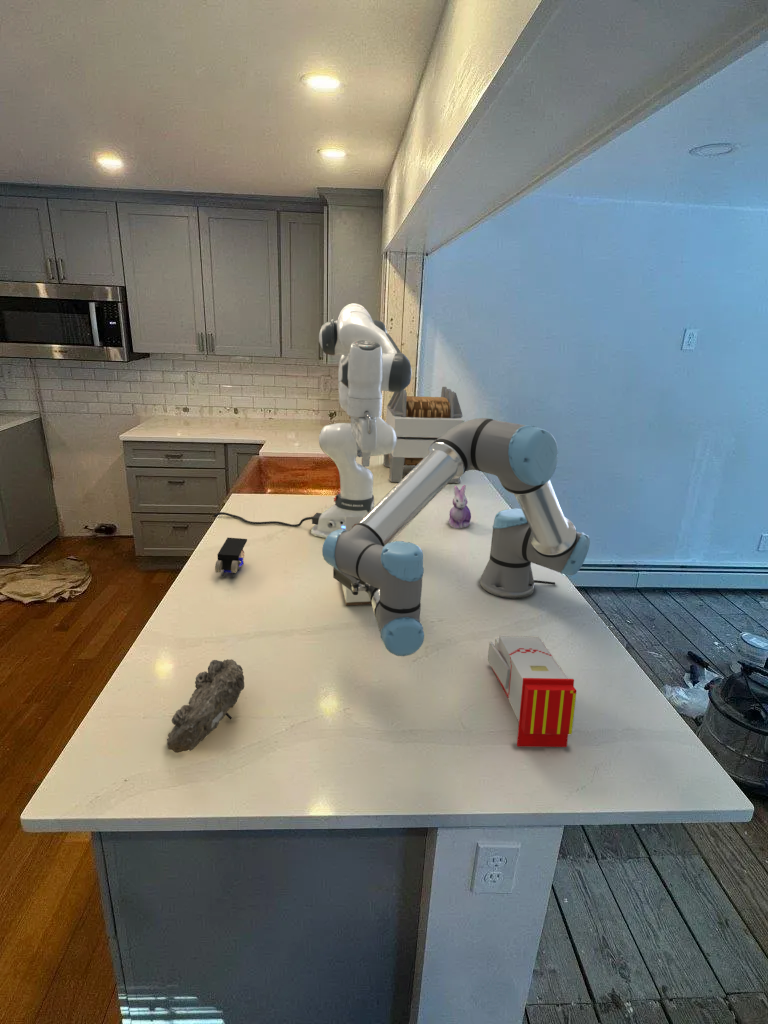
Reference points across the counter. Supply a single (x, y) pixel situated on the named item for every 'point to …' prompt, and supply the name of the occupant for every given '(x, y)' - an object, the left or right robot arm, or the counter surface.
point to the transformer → (418, 427)
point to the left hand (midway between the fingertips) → (362, 461)
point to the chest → (355, 597)
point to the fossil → (206, 705)
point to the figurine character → (230, 556)
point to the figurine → (459, 509)
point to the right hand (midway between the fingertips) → (373, 556)
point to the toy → (534, 690)
